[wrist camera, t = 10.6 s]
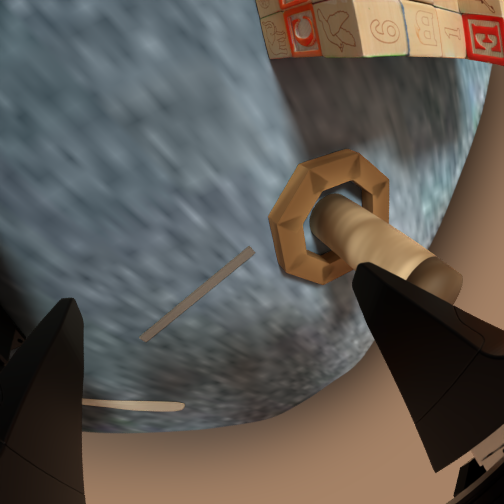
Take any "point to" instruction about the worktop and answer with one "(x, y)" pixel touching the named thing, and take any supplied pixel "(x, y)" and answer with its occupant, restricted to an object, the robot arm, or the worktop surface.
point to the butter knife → (136, 405)
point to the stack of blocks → (384, 28)
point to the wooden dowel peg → (380, 246)
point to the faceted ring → (303, 199)
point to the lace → (198, 293)
